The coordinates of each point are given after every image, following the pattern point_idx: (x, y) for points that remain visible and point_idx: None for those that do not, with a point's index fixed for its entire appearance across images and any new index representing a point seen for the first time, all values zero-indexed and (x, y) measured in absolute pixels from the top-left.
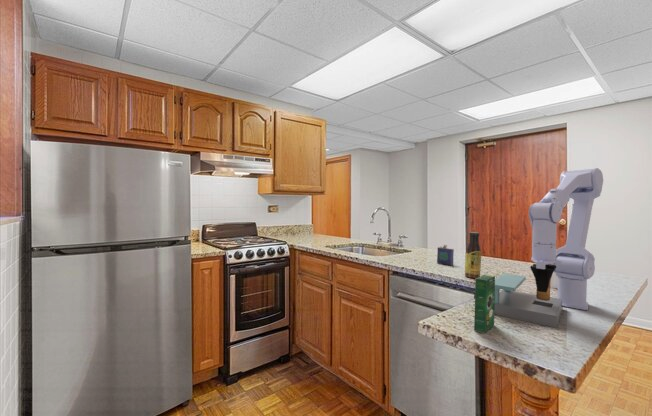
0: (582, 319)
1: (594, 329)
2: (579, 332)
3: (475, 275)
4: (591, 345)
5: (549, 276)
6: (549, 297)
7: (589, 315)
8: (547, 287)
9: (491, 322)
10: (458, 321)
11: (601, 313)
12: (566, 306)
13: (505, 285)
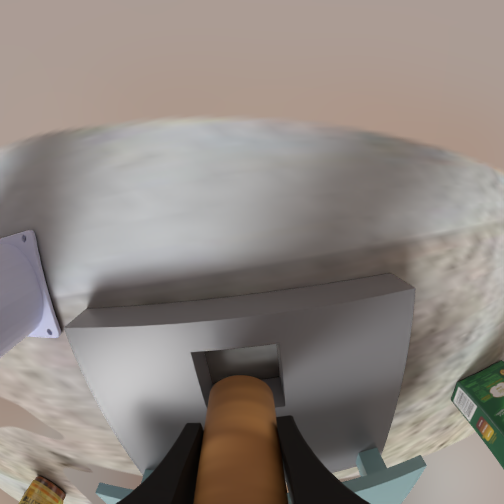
0: (171, 218)
1: (295, 157)
2: (384, 201)
3: (51, 488)
4: (465, 166)
5: (355, 495)
6: (245, 386)
7: (83, 209)
8: (302, 436)
9: (482, 379)
10: (460, 419)
11: (28, 185)
12: (50, 299)
13: (398, 490)
